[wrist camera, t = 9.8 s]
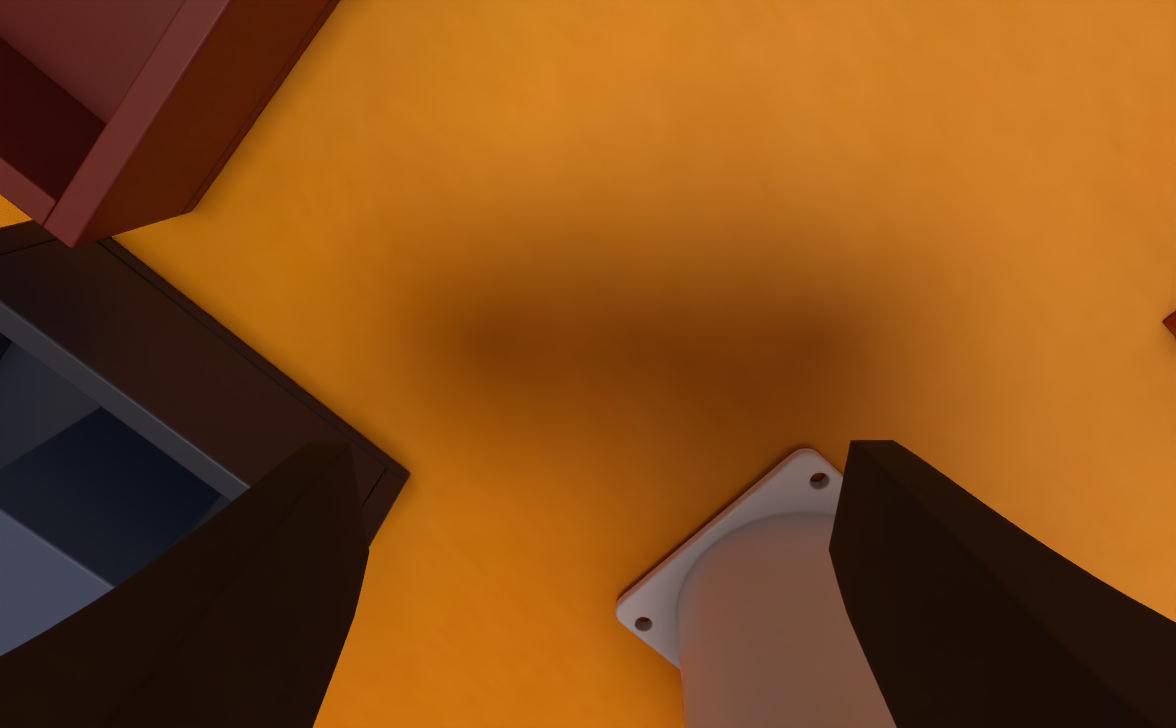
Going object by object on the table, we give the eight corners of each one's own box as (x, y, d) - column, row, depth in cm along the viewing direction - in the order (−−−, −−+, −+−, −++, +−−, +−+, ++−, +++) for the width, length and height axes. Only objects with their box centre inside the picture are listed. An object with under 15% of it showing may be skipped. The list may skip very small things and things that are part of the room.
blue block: (230, 484, 22) (122, 593, 17) (162, 564, 23) (43, 687, 19) (113, 397, 21) (-34, 488, 17) (49, 485, 22) (-105, 593, 18)
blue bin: (410, 474, 22) (358, 567, 18) (210, 682, 26) (126, 801, 21) (74, 209, 20) (-78, 244, 16) (-97, 478, 23) (-258, 566, 19)
